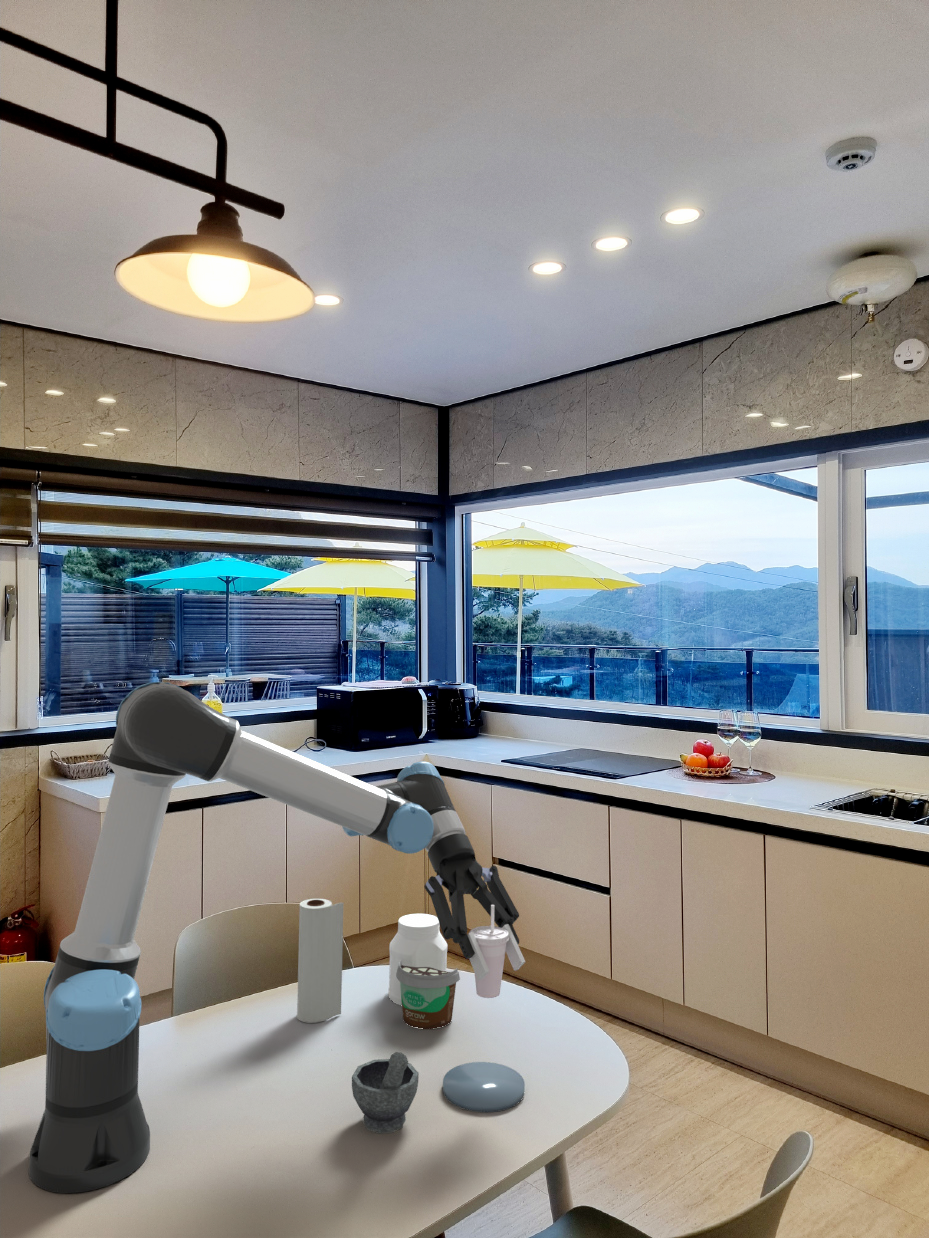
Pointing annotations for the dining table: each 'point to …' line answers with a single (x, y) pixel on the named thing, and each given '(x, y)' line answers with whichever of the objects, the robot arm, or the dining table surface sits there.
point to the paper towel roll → (319, 960)
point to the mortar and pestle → (385, 1092)
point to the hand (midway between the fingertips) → (501, 970)
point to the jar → (416, 948)
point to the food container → (427, 995)
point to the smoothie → (491, 957)
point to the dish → (483, 1087)
